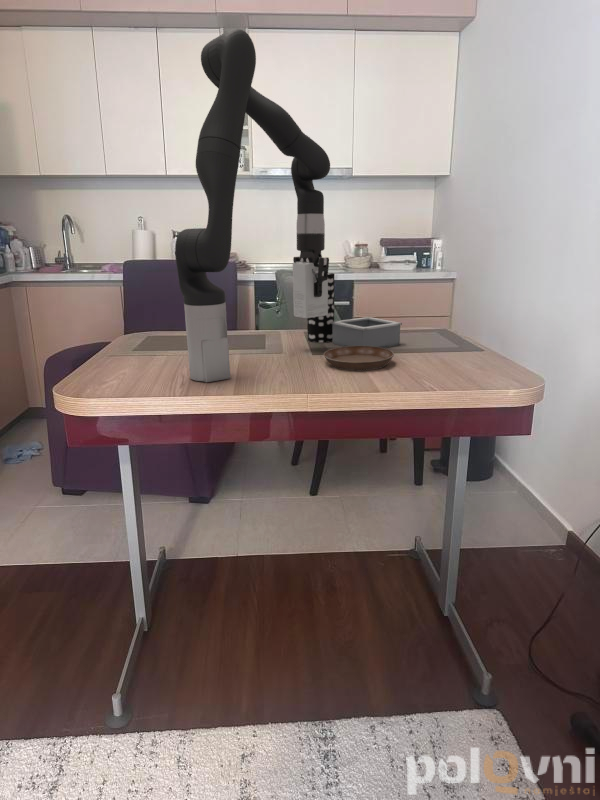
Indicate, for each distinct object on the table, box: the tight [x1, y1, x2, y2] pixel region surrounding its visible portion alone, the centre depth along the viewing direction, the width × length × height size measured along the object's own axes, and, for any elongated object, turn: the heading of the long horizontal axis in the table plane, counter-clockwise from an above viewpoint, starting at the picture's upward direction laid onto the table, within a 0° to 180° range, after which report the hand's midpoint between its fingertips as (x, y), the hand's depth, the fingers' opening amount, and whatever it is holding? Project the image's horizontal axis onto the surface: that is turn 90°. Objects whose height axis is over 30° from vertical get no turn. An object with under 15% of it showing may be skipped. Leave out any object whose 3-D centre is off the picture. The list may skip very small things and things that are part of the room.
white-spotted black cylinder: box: [306, 272, 335, 344], centre depth 163 cm, size 8×8×20 cm
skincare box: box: [292, 262, 328, 319], centre depth 147 cm, size 8×6×15 cm
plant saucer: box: [323, 346, 395, 371], centre depth 136 cm, size 18×18×3 cm
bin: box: [331, 316, 403, 349], centre depth 158 cm, size 15×15×6 cm
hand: (310, 295), depth 148 cm, fingers closed on skincare box, 6 cm apart
